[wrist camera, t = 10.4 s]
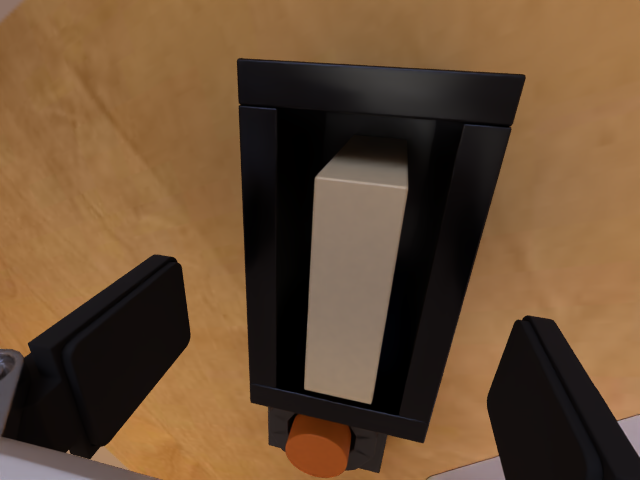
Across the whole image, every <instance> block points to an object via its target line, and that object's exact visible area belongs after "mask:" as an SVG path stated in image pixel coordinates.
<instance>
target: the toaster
mask: <svg viewBox="0 0 640 480" xmlns="http://www.w3.org/2000/svg"><path fill="white" fill-rule="evenodd" d="M237 75H238V99H239V104H241V105H239V127H240V152H241V176H242V201H243V226H244V250H245V275H246V300H247V324H248V349H249V373H250V400H251V403H255V404H259V405H263V406H267V407H272V408H276V409H280V410H284V411H289V412H293V413H297V414H301V415H305V416H310V417H314V418H318V419H322V420H327V421H331V422H335V423H339V424H344V425H348V426H352V427H356V428H360V429H365V430H369V431H373V432H377V433H382V434H386V435H390V436H394V437H399V438H403V439H407V440H411V441H415V442H420V443H424V441H425V437H426V433H427V430H428V426H429V422H430V419H431V415H432V412H433V408H434V405H435V401H436V398H437V394H438V390H439V387H440V383H441V380H442V376H443V373H444V369H445V365H446V362H447V358H448V355H449V351H450V347H451V344H452V340H453V337H454V333H455V330H456V326H457V322H458V319H459V315H460V312H461V308H462V305H463V301H464V297H465V294H466V290H467V287H468V283H469V280H470V276H471V272H472V269H473V265H474V262H475V258H476V255H477V251H478V247H479V244H480V240H481V237H482V233H483V229H484V226H485V222H486V219H487V215H488V212H489V208H490V204H491V201H492V197H493V194H494V190H495V187H496V183H497V179H498V176H499V172H500V169H501V165H502V162H503V158H504V154H505V151H506V147H507V144H508V140H509V136H510V133H511V127H509V126H512V124H513V122H514V118H515V114H516V111H517V107H518V104H519V100H520V96H521V93H522V89H523V86H524V82H525V79H526V77H525V75H523V74H508V73H490V72H473V71H455V70H437V69H420V68H402V67H385V66H367V65H349V64H332V63H314V62H297V61H279V60H261V59H244V58H239V59H237ZM353 135H361V136H372V137H383V138H394V139H405V140H407V157H408V194H407V200H406V206H405V212H404V218H403V224H402V230H401V235H400V241H399V247H398V253H397V259H396V265H395V271H394V277H393V282H392V288H391V294H390V300H389V306H388V312H387V318H386V324H385V329H384V335H383V341H382V347H381V353H380V359H379V365H378V371H377V377H376V382H375V388H374V394H373V400H372V403H371V404H367V403H362V402H358V401H354V400H349V399H345V398H340V397H336V396H331V395H327V394H322V393H318V392H313V391H309V390H305V389H304V379H305V359H306V339H307V320H308V300H309V280H310V260H311V241H312V221H313V201H314V181H315V177H316V176H317V175H318V174H319V172H320V171H321V170H322V169H323V168H324V167H325V166H326V165H327V164H328V163H329V162H330V160H331V159H332V158H333V157H334V156H335V155H336V154H337V153H338V152H339V151H340V150H341V149H342V147H343V146H344V145H345V144H346V143H347V142H348V141H349V140H350V139H351V138H352V137H353Z"/></svg>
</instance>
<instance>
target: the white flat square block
mask: <svg viewBox="0 0 640 480" xmlns="http://www.w3.org/2000/svg"><path fill="white" fill-rule="evenodd" d="M407 194H408V157H407V140H405V139H394V138H383V137H372V136H361V135H353V137H352V138H351V139H350V140H349V141H348V142H347V143H346V144H345V145H344V146H343V147H342V149H341V150H340V151H339V152H338V153H337V154H336V155H335V156H334V157H333V158H332V159H331V160H330V162H329V163H328V164H327V165H326V166H325V167H324V168H323V169H322V170H321V171H320V172H319V174H318V175H317V176H316V177H315V181H314V201H313V221H312V241H311V260H310V280H309V300H308V320H307V339H306V359H305V379H304V389H305V390H309V391H313V392H318V393H322V394H327V395H331V396H336V397H340V398H345V399H349V400H354V401H358V402H362V403H367V404H371V403H372V400H373V394H374V388H375V382H376V377H377V371H378V365H379V359H380V353H381V347H382V341H383V335H384V329H385V324H386V318H387V312H388V306H389V300H390V294H391V288H392V282H393V277H394V271H395V265H396V259H397V253H398V247H399V241H400V235H401V230H402V224H403V218H404V212H405V206H406V200H407Z"/></svg>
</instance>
